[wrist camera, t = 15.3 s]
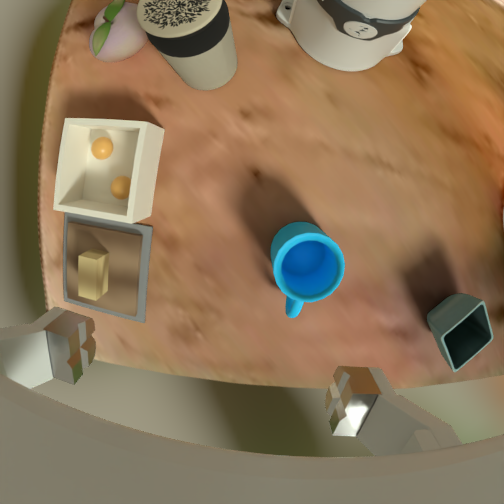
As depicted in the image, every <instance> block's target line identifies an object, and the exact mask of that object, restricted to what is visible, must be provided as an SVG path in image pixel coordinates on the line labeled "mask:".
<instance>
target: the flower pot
mask: <svg viewBox="0 0 504 504" xmlns="http://www.w3.org/2000/svg"><path fill="white" fill-rule="evenodd" d="M427 322H428V324H429V326H430V329H431V331H432V333H433V336H434V338H435V340H436V343H437V345H438V348H439V350H440V352H441V354H442V356H443V357H444V359H445V360H446V362H447V363H448V365H449V366H450V368H451V369H452V371H453V372H456V371H458V370H459V369H460V368H461V367H463V366H464V365H465V364H466V363H467V362H468V361H469V360H471V359H472V358H473V357H474V356H475V355H476V354H478V353H479V352H480V351H481V350H482V349H483V348H484V347H485V346H486V345H488V344H489V343H490V342H491V341H492V339H493V333H492V328H491V325H490V321H489V317H488V313H487V309H486V305H485V302H484V301H483V300H481V299H478V298H476V297H473V296H470V295H468V294H463V293H459V294H454V295H451V296H449V297H447V298H446V299H445V300H443V301H442V302H441V303H440V304H439V305H437V306H436V307H435V308H434V309H432V310H431V311H430V312H429V313H428V314H427Z"/></svg>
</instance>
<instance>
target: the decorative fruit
mask: <svg viewBox="0 0 504 504" xmlns="http://www.w3.org/2000/svg"><path fill="white" fill-rule="evenodd" d="M137 6H138V4H135V3H129V2H125V0H114V1H113V2H111V3H110V4H109V5H108V6H106V7H105V8H103V9H102V10H101V11H100V12H99V13H98V15H97V16H96V18H95V22H94V27H95V29H94V31H93V32H92V34H91V36H90V39H89V48H90V51H91V53H92V55H93V56H94V57H95V58H97V59H99V60H101V61H103V62H109V63H113V62H119V61H123V60H125V59H128V58H130V57H132V56H133V55H135V54H136V53H137V52H139V51H140V50H141V49H142V48H143V46H144V45H145V44H146V42H147V41H148V37H147V35H146V31H145V30H144V29H143V28H142V27H141V26H140V24H139V22H138V19H137Z"/></svg>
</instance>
